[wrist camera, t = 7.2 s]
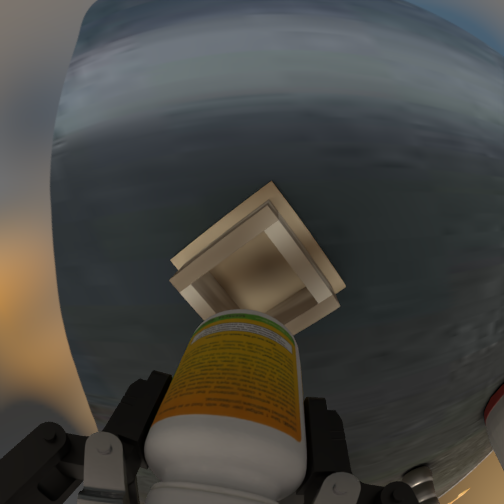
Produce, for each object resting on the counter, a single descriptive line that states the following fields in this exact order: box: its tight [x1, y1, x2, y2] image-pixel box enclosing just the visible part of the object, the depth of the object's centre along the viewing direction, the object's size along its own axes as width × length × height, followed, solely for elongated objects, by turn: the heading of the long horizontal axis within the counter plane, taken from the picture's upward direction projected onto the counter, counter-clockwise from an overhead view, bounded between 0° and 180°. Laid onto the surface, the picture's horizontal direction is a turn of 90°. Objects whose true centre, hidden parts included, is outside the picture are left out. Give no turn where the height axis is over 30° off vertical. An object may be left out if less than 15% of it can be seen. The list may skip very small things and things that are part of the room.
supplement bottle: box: [144, 309, 307, 504], centre depth 9 cm, size 5×5×10 cm
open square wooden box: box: [169, 181, 346, 335], centre depth 22 cm, size 11×11×5 cm
